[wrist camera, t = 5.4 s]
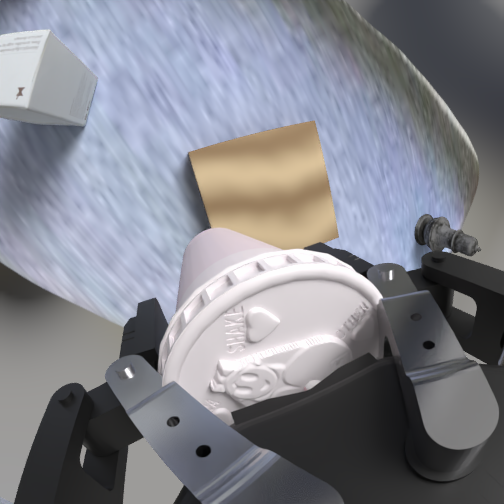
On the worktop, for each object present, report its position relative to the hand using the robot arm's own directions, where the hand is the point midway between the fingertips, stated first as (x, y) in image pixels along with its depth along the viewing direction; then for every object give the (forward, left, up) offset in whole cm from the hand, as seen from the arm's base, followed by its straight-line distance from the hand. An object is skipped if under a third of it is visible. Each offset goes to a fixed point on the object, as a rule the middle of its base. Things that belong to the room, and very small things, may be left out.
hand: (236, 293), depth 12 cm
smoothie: (0, 0, -4) cm, 4 cm away
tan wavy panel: (+1, +9, -22) cm, 24 cm away
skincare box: (-17, -10, -22) cm, 30 cm away
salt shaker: (+14, +35, -22) cm, 44 cm away
